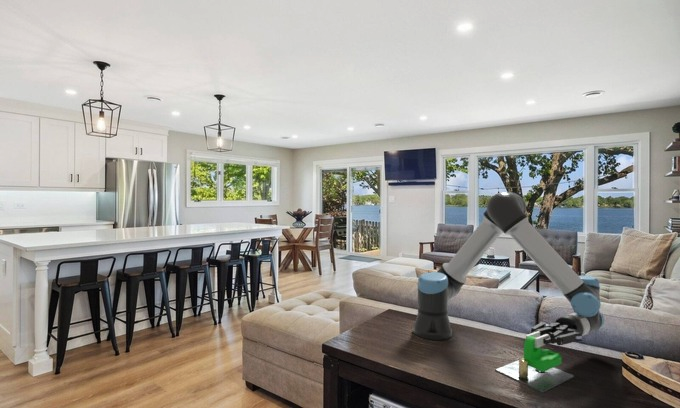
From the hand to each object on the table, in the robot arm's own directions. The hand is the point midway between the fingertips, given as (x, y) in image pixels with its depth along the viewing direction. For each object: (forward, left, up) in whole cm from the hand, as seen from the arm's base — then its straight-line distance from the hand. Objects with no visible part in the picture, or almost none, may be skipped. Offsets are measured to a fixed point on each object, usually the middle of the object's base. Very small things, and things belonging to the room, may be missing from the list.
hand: (531, 341), depth 110 cm
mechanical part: (+2, +4, -7) cm, 8 cm away
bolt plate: (-1, +3, -11) cm, 11 cm away
